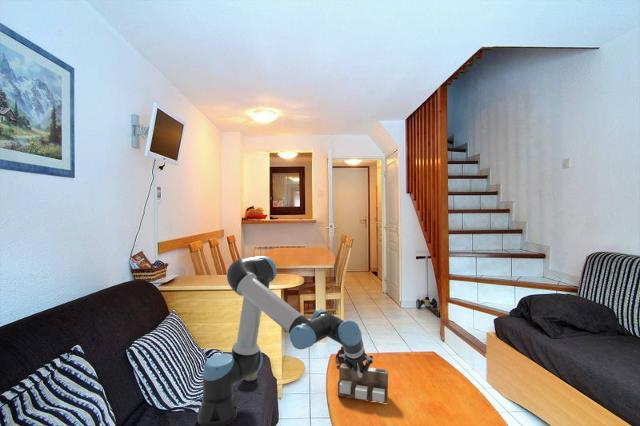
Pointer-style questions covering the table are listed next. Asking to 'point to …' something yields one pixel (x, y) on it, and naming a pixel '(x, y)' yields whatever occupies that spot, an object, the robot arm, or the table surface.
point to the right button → (378, 395)
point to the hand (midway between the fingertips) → (360, 374)
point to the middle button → (361, 392)
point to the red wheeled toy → (339, 356)
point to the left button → (345, 387)
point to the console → (364, 380)
